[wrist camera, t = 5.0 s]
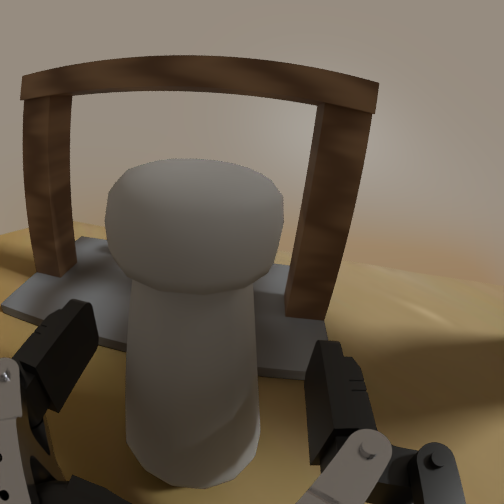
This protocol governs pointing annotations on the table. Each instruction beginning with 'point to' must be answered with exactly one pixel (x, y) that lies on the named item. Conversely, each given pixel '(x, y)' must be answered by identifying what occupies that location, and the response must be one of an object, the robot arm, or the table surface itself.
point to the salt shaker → (193, 312)
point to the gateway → (96, 250)
